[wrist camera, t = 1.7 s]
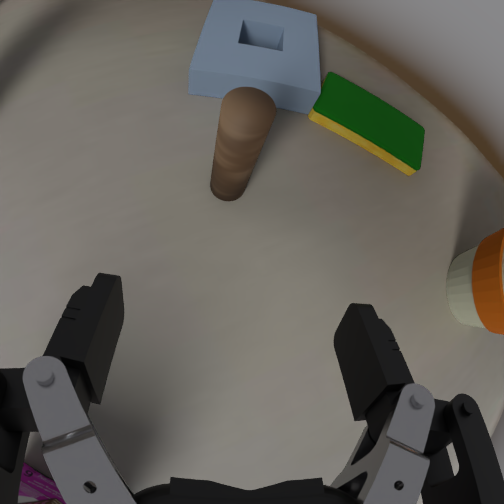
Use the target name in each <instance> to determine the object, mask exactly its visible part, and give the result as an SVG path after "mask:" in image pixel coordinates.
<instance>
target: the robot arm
mask: <svg viewBox="0 0 504 504" xmlns="http://www.w3.org/2000/svg"><path fill="white" fill-rule="evenodd" d="M123 320H124V303H123V293H122V282H121V277H120V276H117V275H111V274H104V273H98V274H97V276H96V278H95V280H94V282H93V284H92V286H91V287H89V286H82V287H81V288H80V289H78V290H77V291H76V292H75V293H74V294H73V295H72V296H71V298H70V300H69V302H68V304H67V306H66V309H65V310H64V312H63V314H62V318H60V320H59V322H58V324H57V326H56V329H55V331H54V333H53V335H52V337H51V339H50V341H49V344H48V346H47V348H46V350H45V352H44V354H43V356H41V357H38V358H35V359H33V360H32V361H31V362H29V364H28V365H27V366H26V367H25V368H9V369H0V504H18V496H19V488H20V481H21V475H22V469H23V463H24V458H25V453H26V448H27V443H28V438H29V434H30V432H39V433H40V436H41V438H42V441H43V446H42V452H43V456H44V458H45V461H46V463H47V466H48V468H49V470H50V472H51V475H52V477H53V479H54V481H55V483H56V485H57V487H58V489H59V491H60V493H61V495H62V497H63V499H64V501H65V503H66V504H416V503H417V501H418V498H419V495H420V492H421V495H422V500H423V504H504V480H503V476H502V473H501V469H500V466H499V463H498V460H497V457H496V454H495V451H494V447H493V445H492V442H491V439H490V436H489V433H488V430H487V428H486V425H485V422H484V420H483V417H482V415H481V412H480V410H479V407H478V405H477V403H476V402H475V400H474V399H473V398H472V397H470V396H469V395H466V394H458V395H456V396H455V397H454V398H453V399H452V400H451V401H450V402H448V401H443V400H438V399H434V398H433V396H432V394H431V393H430V391H429V390H428V389H426V388H425V387H424V386H422V385H420V384H415V383H414V381H413V378H412V376H411V374H410V371H409V369H408V367H407V364H406V362H405V360H404V357H403V355H402V353H401V351H399V349H400V348H399V346H398V344H397V342H395V340H396V339H395V337H394V335H393V333H392V331H391V329H390V328H389V327H388V325H387V324H386V323H385V322H384V321H383V320H382V319H379V318H378V316H377V314H376V312H375V310H374V308H373V306H372V305H370V304H357V303H352V304H350V305H349V307H348V308H347V310H346V312H345V314H344V316H343V318H342V320H341V322H340V324H339V326H338V328H337V330H336V332H335V335H334V348H335V352H336V355H337V359H338V362H339V366H340V369H341V373H342V376H343V380H344V383H345V387H346V391H347V394H348V398H349V402H350V405H351V409H352V413H353V417H354V421H361V420H366V421H367V426H366V427H365V428H364V430H363V432H362V434H361V436H360V438H359V440H358V443H357V445H356V447H355V449H354V451H353V453H352V455H351V456H350V458H349V460H348V462H347V464H346V466H345V468H344V469H343V470H342V472H341V473H340V474H339V475H338V476H337V477H336V479H335V480H334V481H333V483H332V484H331V485H330V486H326V485H323V481H322V478H314V479H304V480H290V481H285V482H281V483H278V484H275V485H271V486H267V487H263V488H260V489H256V490H244V489H239V488H235V487H231V486H227V485H223V484H220V483H216V482H213V481H208V480H194V479H184V478H175V477H171V478H170V483H169V484H161V485H156V486H152V487H149V488H146V489H144V490H142V491H140V492H138V493H136V494H133V492H132V491H131V489H130V488H129V486H128V485H127V483H126V481H125V480H124V478H123V477H122V475H121V474H120V472H119V470H118V469H117V467H116V466H115V464H114V462H113V461H112V459H111V457H110V456H109V454H108V452H107V450H106V449H105V447H104V445H103V443H102V441H101V439H100V438H99V436H98V434H97V432H96V430H95V428H94V426H93V424H92V422H91V420H90V418H89V416H88V414H87V413H88V409H89V406H90V402H92V403H96V404H100V403H101V399H102V395H103V392H104V388H105V384H106V380H107V376H108V373H109V369H110V366H111V362H112V359H113V355H114V352H115V348H116V345H117V342H118V338H119V335H120V332H121V329H122V325H123ZM452 442H453V446H454V449H455V452H456V456H457V459H458V463H459V471H458V473H457V475H456V476H454V473H453V470H452V466H451V462H450V459H449V455H448V452H447V448H446V446H448V445H449V444H450V443H452Z"/></svg>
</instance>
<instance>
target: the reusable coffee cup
mask: <svg viewBox="0 0 504 504" xmlns="http://www.w3.org/2000/svg"><path fill="white" fill-rule="evenodd" d="M446 291H447V299H448V304H449V307H450V310H451V312H452V314H453V315H454V317H455V318H456V319H457V320H458V321H459V322H460V323H462V324H464V325H469V326H476V327H482V328H487V329H488V330H489V331H490V332H493V333H497V334H503V335H504V228H503V229H501V230H499V231H497V232H495V233H493V234H492V235H490V236H488V237H486V238H485V239H484V240H482V242H481V243H480V244H479V245H478V246H476V247H474V248H472V249H470V250H468V251H466V252H464V253H462V254H460V255H458V256H457V257H456V258H455V259H454V260H453V262H452V264H451V266H450V268H449V271H448V275H447V284H446Z"/></svg>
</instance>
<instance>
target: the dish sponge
mask: <svg viewBox="0 0 504 504" xmlns="http://www.w3.org/2000/svg"><path fill="white" fill-rule="evenodd" d="M308 117H309V119H310V120H312V121H314V122H316V123H318V124H320V125H322V126H324V127H326V128H328V129H329V130H331V131H333V132H335V133H337V134H339V135H341V136H343V137H344V138H346V139H348V140H350V141H352V142H353V143H355V144H357V145H359V146H360V147H362V148H364V149H366V150H367V151H369V152H371V153H372V154H374V155H376V156H377V157H379V158H381V159H382V160H384V161H386V162H387V163H389V164H391V165H392V166H394V167H395V168H397V169H398V170H400V171H402V172H403V173H405V174H406V175H408V176H410V175H412V174H413V173H415V172H416V171H417V170H419V169H420V167H421V160H422V152H423V143H424V134H425V130H424V128H423V127H422V126H421V125H419V124H418V123H416V122H415V121H414V120H412V119H411V118H409V117H408V116H406V115H405V114H403V113H402V112H400V111H399V110H397V109H395V108H394V107H392V106H391V105H389V104H388V103H386V102H384V101H383V100H381V99H380V98H378V97H376V96H375V95H373V94H371V93H369V92H368V91H366V90H364V89H363V88H361V87H359V86H357V85H355V84H354V83H352V82H350V81H348V80H346V79H344V78H343V77H341V76H339V75H337V74H335V73H333V72H328V74H327V76H326V78H325V79H324V81H323V83H322V85H321V94H320V95H319V97H318V99H317V100H316V102H315V104H314V106H313V107H312V109H311V111H310V112H309V115H308Z"/></svg>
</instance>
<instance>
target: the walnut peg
mask: <svg viewBox="0 0 504 504" xmlns="http://www.w3.org/2000/svg"><path fill="white" fill-rule="evenodd" d="M275 116H276V105H275V103H274V101H273V99H272V98H271V97H270V96H269V95H268V94H267V93H265V92H264V91H262V90H260V89H257V88H254V87H238V88H235V89H233V90H231V91H229V92H228V93H227V94H226V95H225V96H224V98H223V100H222V105H221V111H220V118H219V124H218V131H217V138H216V145H215V152H214V159H213V167H212V175H211V182H210V187H211V191H212V193H213V194H214V195H215V196H216V197H217V198H218V199H220V200H223V201H233V200H236V199H238V198H239V197H241V195H242V194H243V192H244V190H245V188H246V185H247V183H248V180H249V178H250V176H251V173H252V171H253V168H254V166H255V163H256V161H257V159H258V156H259V154H260V151H261V149H262V147H263V144H264V142H265V139H266V137H267V135H268V132H269V130H270V128H271V125H272V123H273V121H274V118H275Z"/></svg>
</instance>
